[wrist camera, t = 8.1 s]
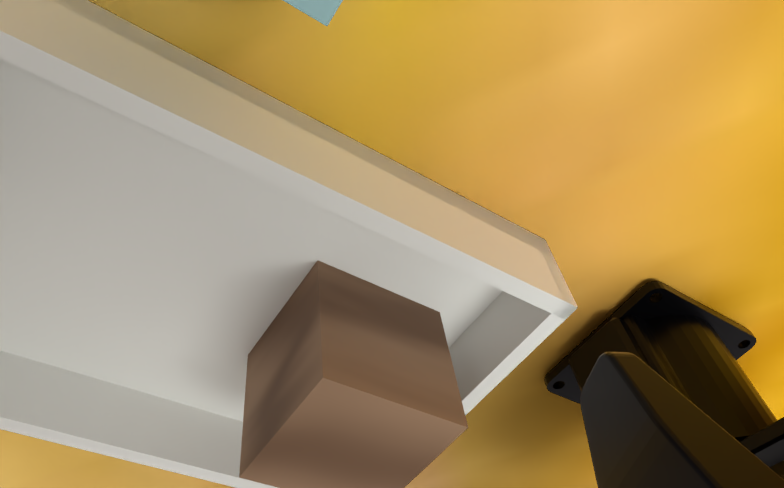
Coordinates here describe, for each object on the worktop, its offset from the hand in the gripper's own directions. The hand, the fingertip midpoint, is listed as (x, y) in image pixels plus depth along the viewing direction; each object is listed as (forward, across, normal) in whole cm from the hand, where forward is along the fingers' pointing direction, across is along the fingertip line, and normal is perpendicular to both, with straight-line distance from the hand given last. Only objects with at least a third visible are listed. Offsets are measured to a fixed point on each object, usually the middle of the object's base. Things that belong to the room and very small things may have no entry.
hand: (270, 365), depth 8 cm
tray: (+12, +1, +9) cm, 15 cm away
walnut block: (+11, -3, +11) cm, 16 cm away
